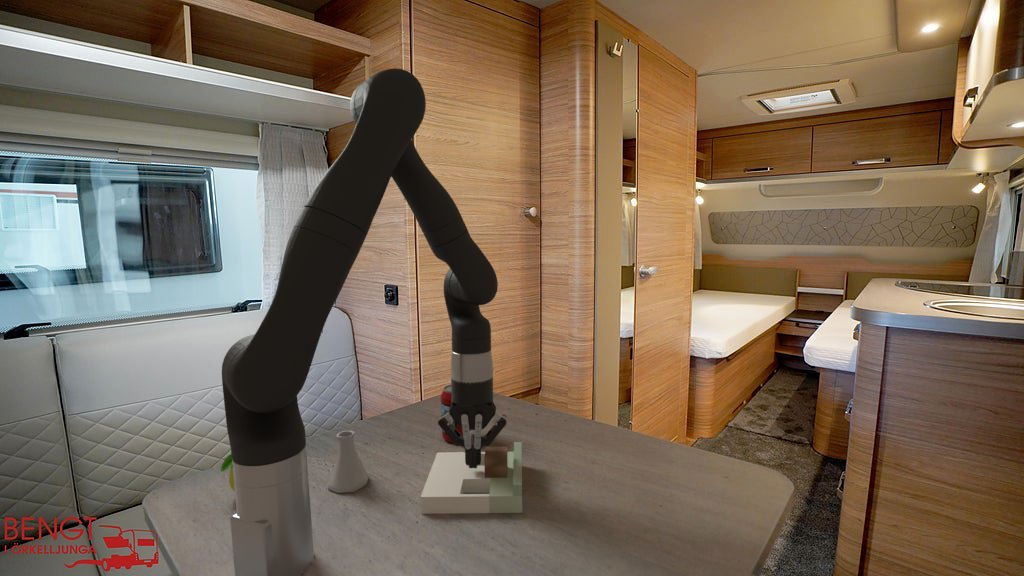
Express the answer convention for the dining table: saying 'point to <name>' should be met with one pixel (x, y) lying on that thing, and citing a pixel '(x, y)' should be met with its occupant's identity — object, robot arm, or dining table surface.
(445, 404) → the beverage can
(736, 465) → the dining table surface
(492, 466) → the walnut block
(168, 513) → the dining table surface
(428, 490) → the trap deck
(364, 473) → the flask
